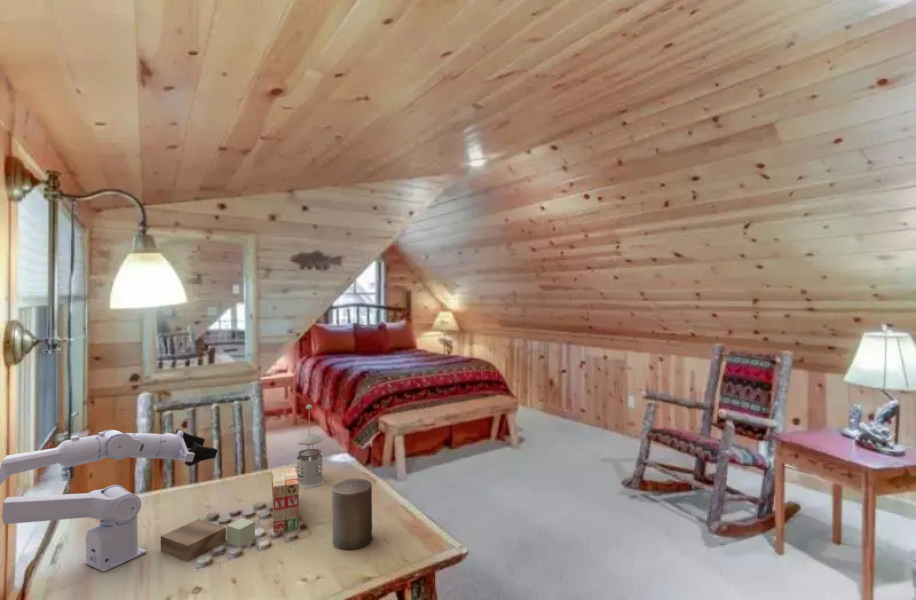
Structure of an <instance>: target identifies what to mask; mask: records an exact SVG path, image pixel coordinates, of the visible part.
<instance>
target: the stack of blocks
mask: <svg viewBox="0 0 916 600" xmlns="http://www.w3.org/2000/svg"><path fill="white" fill-rule="evenodd" d="M297 474H298V473H297V468H296V467H293V466H291V467H285V468H277V469H271V495H272V496H271V498H272V499H271V501H272V503H271V505H272V506H273V507H272V518H273V519H272V523H273V524H272V527H273V529H272V530H273V532H277V533H282V532H281V531H283V532H288V531H294V529H295V530H298V528H299V525H300V517H299V506H300V505H299V502H300V500H299V499H300V498H299V497H300V495H299V482H298V477H297ZM279 531H280V532H279Z"/></svg>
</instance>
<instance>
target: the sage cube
mask: <svg viewBox="0 0 916 600" xmlns="http://www.w3.org/2000/svg"><path fill="white" fill-rule="evenodd" d="M255 540H256V522H255V521H253V520H249V519H246V518H244V517H242V518H240V519H237V520H236V521H233V522H231V523H230V524H227V525H226V544H228V545H231V546H233V547H236V546H237V548H239V547H240V548H242V547H244V546H245V544H246V545H247V543H248V542H249V543H251V542H253V541H255ZM249 543H248V544H249Z"/></svg>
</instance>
